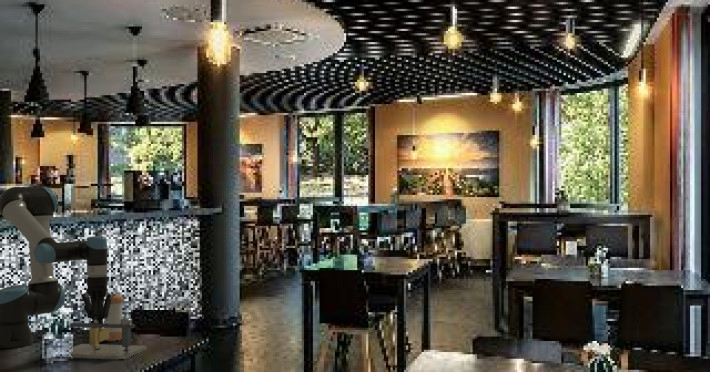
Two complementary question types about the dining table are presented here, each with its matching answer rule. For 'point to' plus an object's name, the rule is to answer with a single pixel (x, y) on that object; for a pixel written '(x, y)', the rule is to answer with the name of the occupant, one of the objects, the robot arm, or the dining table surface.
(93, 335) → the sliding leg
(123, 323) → the divider beam
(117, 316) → the salt shaker
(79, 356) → the bolt plate
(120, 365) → the dining table surface
